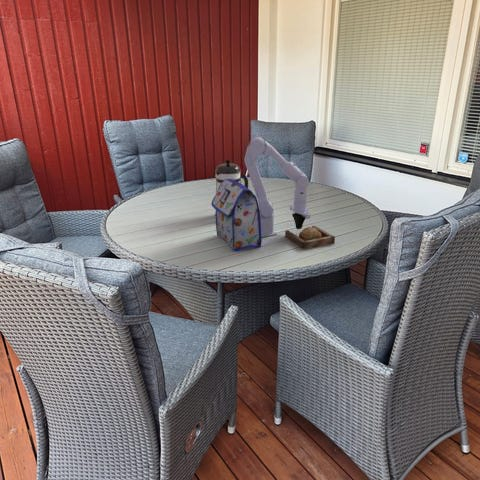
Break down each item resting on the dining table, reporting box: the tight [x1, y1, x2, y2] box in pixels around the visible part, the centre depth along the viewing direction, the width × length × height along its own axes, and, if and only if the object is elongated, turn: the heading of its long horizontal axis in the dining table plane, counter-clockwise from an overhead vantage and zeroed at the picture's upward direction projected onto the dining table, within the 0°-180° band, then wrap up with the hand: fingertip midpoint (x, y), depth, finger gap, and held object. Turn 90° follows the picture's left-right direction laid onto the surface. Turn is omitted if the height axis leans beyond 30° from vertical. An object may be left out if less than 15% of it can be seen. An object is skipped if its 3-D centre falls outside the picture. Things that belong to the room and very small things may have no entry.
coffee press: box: [214, 159, 249, 217], centre depth 204 cm, size 17×16×30 cm
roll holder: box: [284, 225, 336, 250], centre depth 178 cm, size 16×16×3 cm
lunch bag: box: [210, 179, 263, 252], centre depth 172 cm, size 23×17×27 cm
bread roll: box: [298, 226, 322, 241], centre depth 177 cm, size 10×10×8 cm
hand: (298, 228), depth 185 cm, fingers closed
